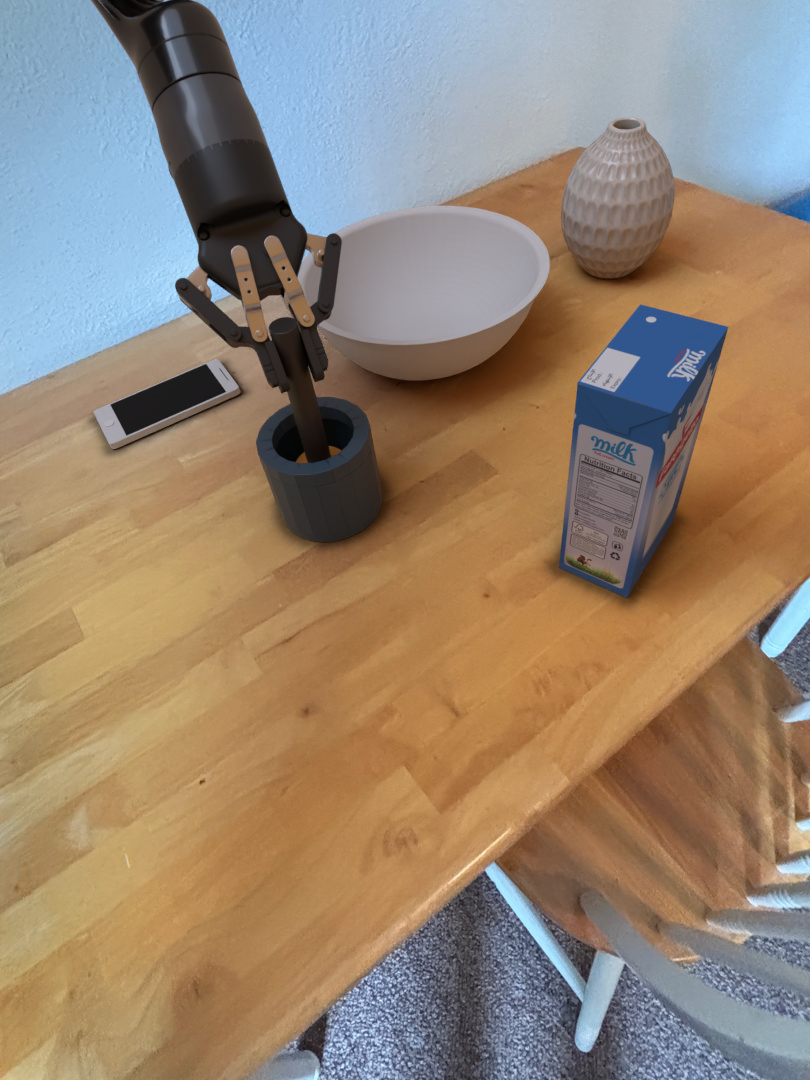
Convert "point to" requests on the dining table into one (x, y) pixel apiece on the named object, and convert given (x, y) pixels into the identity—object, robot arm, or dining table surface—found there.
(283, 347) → the plunger
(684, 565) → the dining table surface
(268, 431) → the jar
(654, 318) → the milk carton
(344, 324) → the bowl
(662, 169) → the vase
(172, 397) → the smartphone
